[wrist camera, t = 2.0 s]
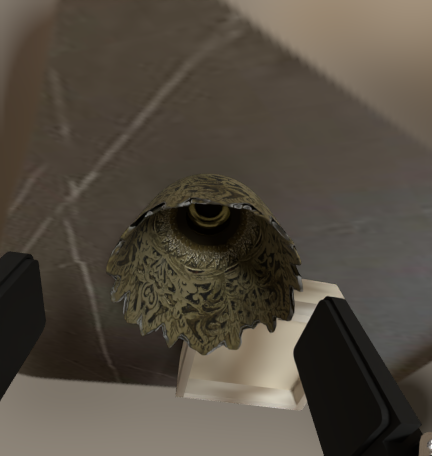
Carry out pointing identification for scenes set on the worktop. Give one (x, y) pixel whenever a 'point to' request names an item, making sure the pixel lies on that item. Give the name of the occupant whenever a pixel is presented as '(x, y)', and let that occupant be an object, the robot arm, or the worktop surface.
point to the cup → (205, 265)
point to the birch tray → (255, 361)
